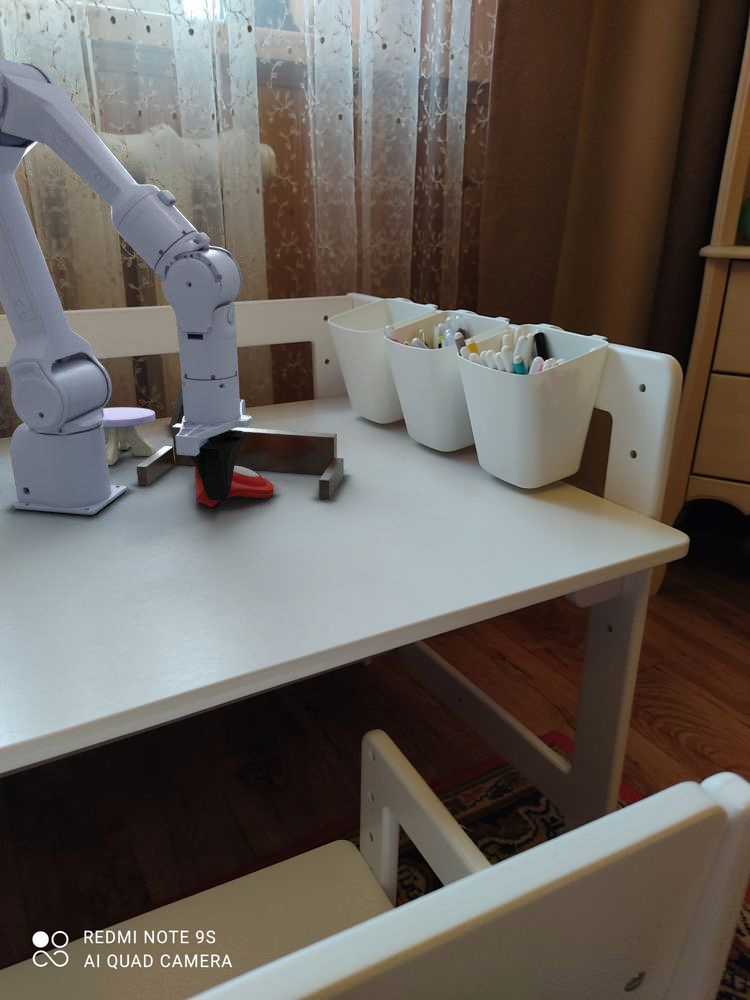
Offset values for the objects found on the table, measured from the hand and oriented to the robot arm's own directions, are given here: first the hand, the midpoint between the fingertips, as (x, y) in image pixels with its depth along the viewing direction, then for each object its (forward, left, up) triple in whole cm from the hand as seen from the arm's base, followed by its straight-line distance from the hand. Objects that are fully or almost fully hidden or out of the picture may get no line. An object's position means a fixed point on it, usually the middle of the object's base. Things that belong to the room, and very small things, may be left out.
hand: (218, 498), depth 83 cm
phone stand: (-14, +31, -2) cm, 34 cm away
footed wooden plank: (-1, +12, -2) cm, 12 cm away
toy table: (-20, +17, -2) cm, 26 cm away
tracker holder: (-1, +7, -2) cm, 7 cm away
